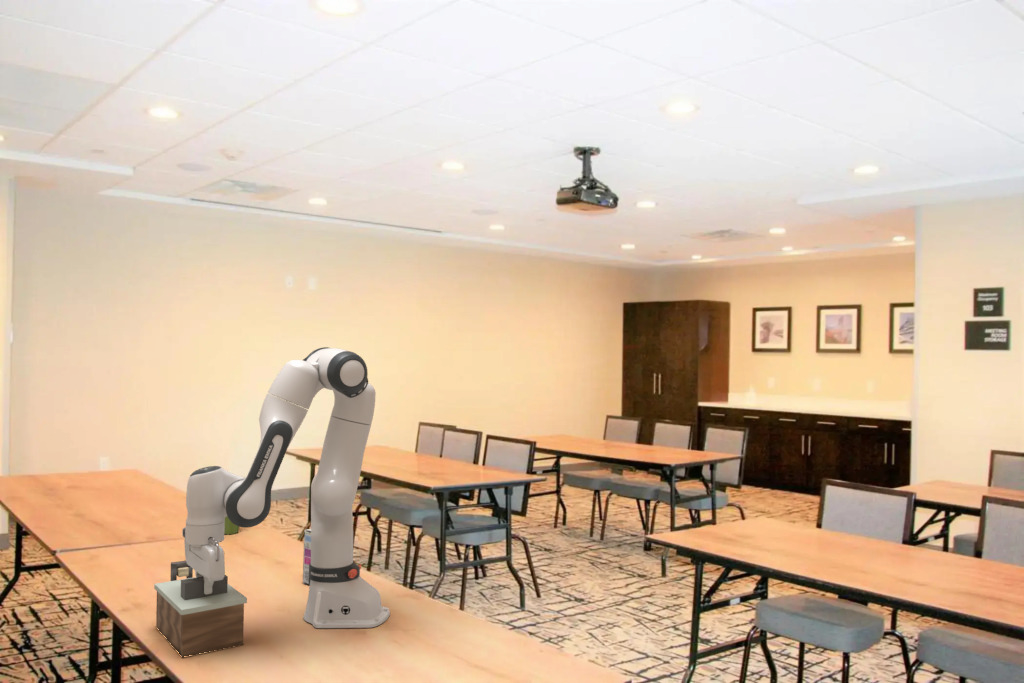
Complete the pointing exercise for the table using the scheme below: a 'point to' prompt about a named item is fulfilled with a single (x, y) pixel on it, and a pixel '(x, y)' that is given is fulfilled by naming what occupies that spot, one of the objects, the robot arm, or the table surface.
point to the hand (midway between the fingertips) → (204, 590)
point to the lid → (198, 595)
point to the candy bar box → (306, 555)
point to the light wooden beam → (182, 571)
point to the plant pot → (230, 527)
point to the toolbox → (199, 624)
